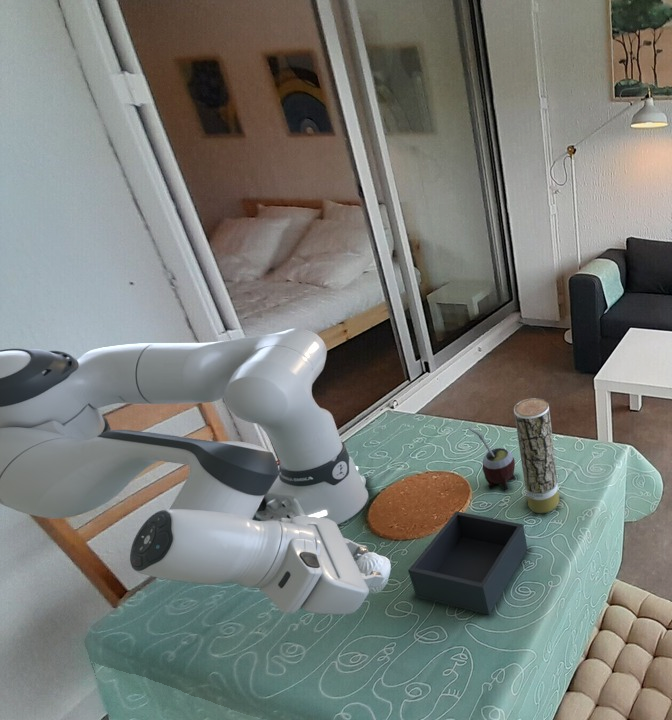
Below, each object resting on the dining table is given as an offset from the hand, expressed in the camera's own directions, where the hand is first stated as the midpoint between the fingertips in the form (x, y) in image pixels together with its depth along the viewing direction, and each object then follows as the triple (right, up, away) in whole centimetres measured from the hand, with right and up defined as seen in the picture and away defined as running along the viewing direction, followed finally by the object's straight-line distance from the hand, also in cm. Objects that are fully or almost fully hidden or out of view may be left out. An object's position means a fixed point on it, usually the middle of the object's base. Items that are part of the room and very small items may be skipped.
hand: (373, 566), depth 82 cm
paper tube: (+23, +2, +27) cm, 36 cm away
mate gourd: (+11, +5, +34) cm, 36 cm away
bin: (+13, -6, +11) cm, 18 cm away
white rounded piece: (0, -4, +2) cm, 5 cm away
